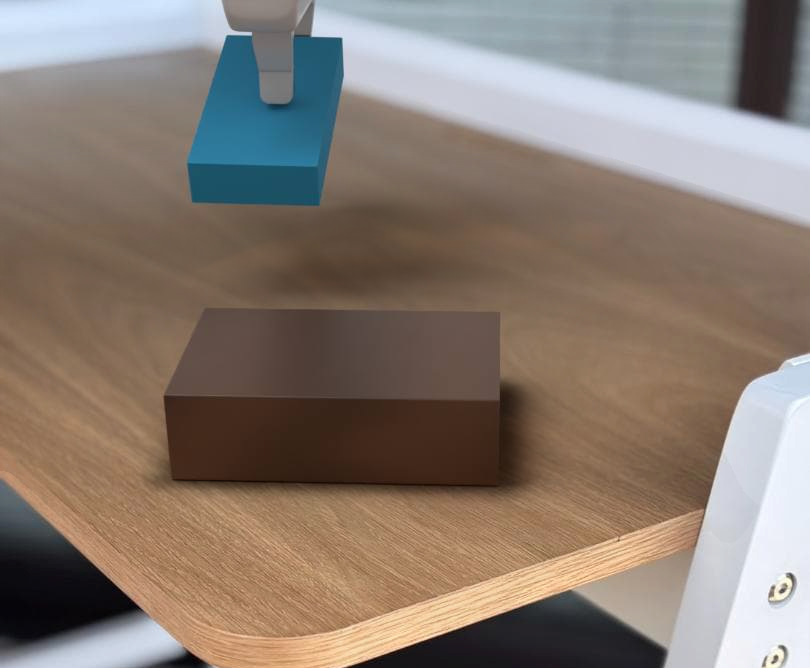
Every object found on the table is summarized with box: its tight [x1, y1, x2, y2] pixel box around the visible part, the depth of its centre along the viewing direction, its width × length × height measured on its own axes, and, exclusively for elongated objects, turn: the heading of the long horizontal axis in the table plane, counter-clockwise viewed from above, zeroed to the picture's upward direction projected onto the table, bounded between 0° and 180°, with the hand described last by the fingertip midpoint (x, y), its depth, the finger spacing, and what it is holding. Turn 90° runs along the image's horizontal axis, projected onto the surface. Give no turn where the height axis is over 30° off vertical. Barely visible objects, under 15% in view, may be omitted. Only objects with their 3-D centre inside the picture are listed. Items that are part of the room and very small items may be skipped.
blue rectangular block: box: [186, 34, 345, 207], centre depth 87 cm, size 7×7×18 cm
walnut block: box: [162, 307, 501, 486], centre depth 67 cm, size 14×10×4 cm
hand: (287, 83), depth 86 cm, fingers closed on blue rectangular block, 7 cm apart
